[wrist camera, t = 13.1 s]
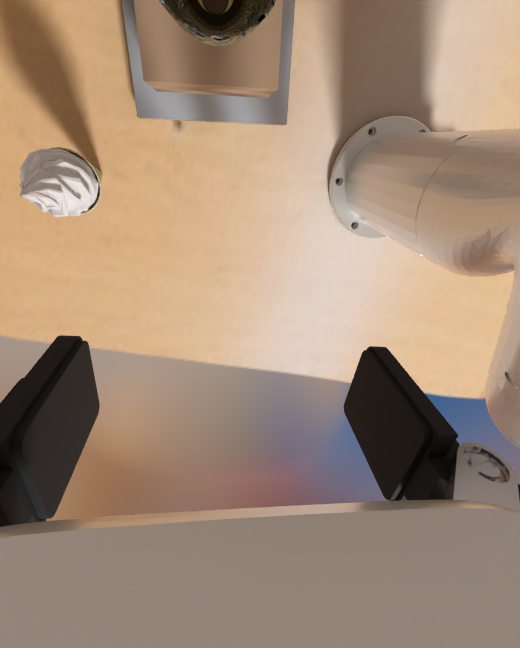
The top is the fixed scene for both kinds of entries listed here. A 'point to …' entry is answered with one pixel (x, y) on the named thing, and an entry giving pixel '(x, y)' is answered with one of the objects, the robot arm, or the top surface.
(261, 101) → the brown block on base
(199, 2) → the cup
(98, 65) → the top surface
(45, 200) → the ice cream cone
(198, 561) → the robot arm
